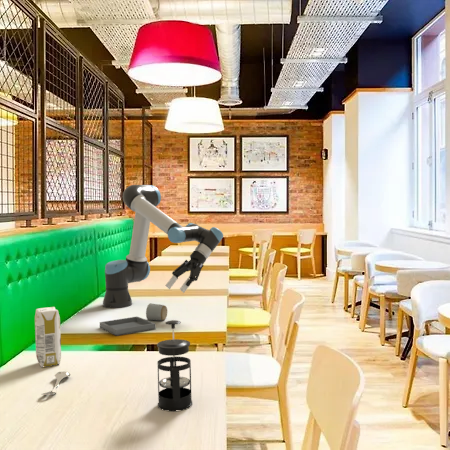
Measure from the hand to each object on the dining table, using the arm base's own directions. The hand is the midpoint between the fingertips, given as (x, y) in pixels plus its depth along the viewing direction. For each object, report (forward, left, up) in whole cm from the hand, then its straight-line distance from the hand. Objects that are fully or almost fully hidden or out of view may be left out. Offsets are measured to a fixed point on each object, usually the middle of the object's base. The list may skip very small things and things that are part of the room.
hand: (174, 289), depth 258 cm
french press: (+96, -54, -14) cm, 112 cm away
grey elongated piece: (+62, -76, -14) cm, 99 cm away
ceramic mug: (-1, -9, -14) cm, 16 cm away
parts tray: (+6, -27, -13) cm, 31 cm away
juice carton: (+36, -70, -14) cm, 80 cm away
